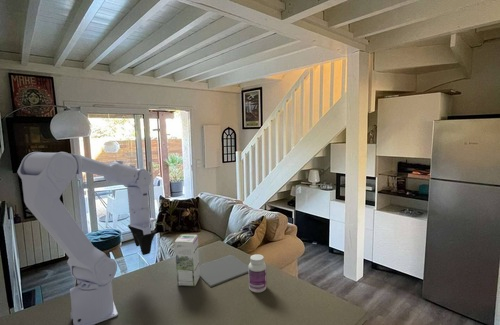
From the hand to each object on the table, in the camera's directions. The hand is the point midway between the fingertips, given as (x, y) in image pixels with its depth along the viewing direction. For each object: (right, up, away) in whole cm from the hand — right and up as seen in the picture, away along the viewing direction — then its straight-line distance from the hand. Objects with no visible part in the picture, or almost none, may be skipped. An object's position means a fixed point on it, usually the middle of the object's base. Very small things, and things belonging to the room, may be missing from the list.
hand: (142, 249), depth 85 cm
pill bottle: (+36, -10, -4) cm, 38 cm away
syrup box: (+14, -10, 0) cm, 18 cm away
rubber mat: (+24, -9, +7) cm, 27 cm away
